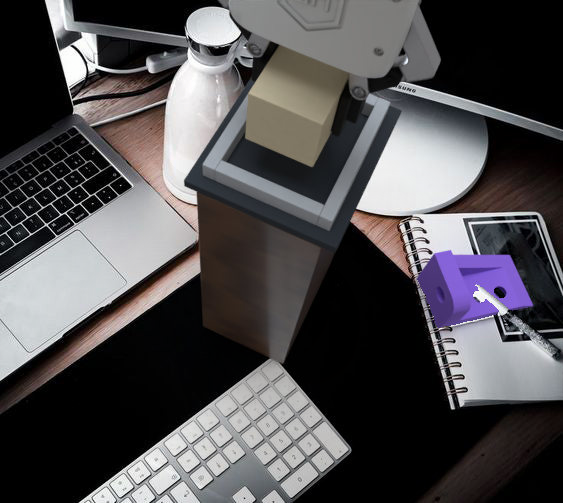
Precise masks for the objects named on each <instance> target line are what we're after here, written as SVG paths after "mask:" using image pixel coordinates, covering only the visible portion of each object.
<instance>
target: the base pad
mask: <svg viewBox="0 0 563 503" xmlns="http://www.w3.org/2000/svg"><path fill="white" fill-rule="evenodd" d="M254 84H255V82H254V81H252V80H251V78H250V79H249V80H248V82H247V83H246V85H245V86H244V87H243V88H242V90H241V92H240V94H239V95H238V97H237V99H236V100H235V102H234V103H233V104H232V106H231V108H230V109H229V111H228V112H227V113H226V115H225V117H224V118H223V120H222V121H221V123H220V125H219V126H218V127H217V129H216V131H215V132H214V133H213V135H212V136H211V138H210V140H209V141H208V142H207V144H206V146H205V147H204V149H203V150H202V151H201V154H200V155H199V156H198V158H197V159H196V161H195V163H194V164H193V166H192V167H191V168H190V170H189V172H188V173H187V175H186V177H185V178H184V179H183V186H184V187H185V188H187V189H189V190H192V191H194V192H196V193H197V192H199V193H201V194H203V195H205V196H208V197H210V198H212V199H214V200H216V201H219V202H221V203H223V204H225V205H228V206H230V207H232V208H234V209H237V210H239V211H241V212H243V213H246V214H248V215H250V216H252V217H255V218H257V219H259V220H261V221H264V222H266V223H268V224H270V225H273V226H275V227H277V228H279V229H282V230H284V231H286V232H288V233H291V234H293V235H295V236H297V237H299V238H302V239H304V240H306V241H308V242H311V243H313V244H315V245H317V246H320V247H322V248H324V249H326V250H329V251H331V252H333V253H334V254H336V253H337V251H338V248H339V247H340V245H341V242H342V240H343V238H344V235H345V234H346V231H347V229H348V227H349V225H350V223H351V221H352V218H353V217H354V214H355V212H356V210H357V208H358V206H359V204H360V202H361V200H362V198H363V196H364V193H365V191H366V189H367V187H368V185H369V183H370V180H371V179H372V176H373V175H374V172H375V170H376V167H377V166H378V163H379V161H380V159H381V157H382V155H383V153H384V151H385V149H386V146H387V144H388V142H389V140H390V138H391V135H392V134H393V131H394V129H395V127H396V126H397V124H398V121H399V119H400V116H401V114H402V109H399V108H398V107H395V106H393V105H391V101H389V100H386V99H384V98H381V97H379V96H376V95H374V94H373V93H369V95H368V97H367V99H366V102H365V105H364V108H363V110H362V113H361V115H360V117H359V119H358V121H357V123H356V124H354V123H352V122H349V121H347V123H346V125H345V127H344V129H343V131H342V133H341V135H340V136H339V137H338V136H335V135H333V134H332V132H331V134H330V136H329V138H328V139H327V141H326V143H325V145H324V147H323V149H322V151H321V153H320V154H319V156H318V158H317V160H316V162H315V164H314V166H313V167H310V166H308V165H306V164H303V163H301V162H299V161H296V160H294V159H292V158H290V157H287V156H285V155H283V154H280V153H278V152H276V151H273V150H271V149H269V148H266V147H264V146H262V145H259V144H257V143H255V142H252V141H250V140H248V139H246V138H245V133H246V119H247V105H248V93H249V91H250V90H251V88H252V87H253V85H254Z"/></svg>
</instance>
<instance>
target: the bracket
mask: <svg viewBox="0 0 563 503" xmlns="http://www.w3.org/2000/svg"><path fill="white" fill-rule="evenodd" d="M417 280H418V282H419V284H420V287H421V289H422V291H423V293H424V294H425V295H426V301H427V303H428V304H429V305H430V310H431V313H432V315H433V316H434V320H435V321H434V322H435V324H436V326H437V327H438V328H441V327H444V326H451V325H456V324H460V323H463V322H467V321H473V320H477V319H481V318H485V317H489V316H492V315H496V314H498V312H499V310H498V309H497V308H496V307H495V306H494V305H493V304H492V303H490V302H489V301H488V300H487V299H485V301H484V302H481V303H480V302H479V301H478V300H476V298H474V297H473V294H474V292H475V291H479V290H478V287H477V286H475V285H476V284H477V285H480V287H483V288H484V289H485V290H486V291H487V292H489V293H490V294H491V295H493V296H494V297H495V298H497V299H498V300H499V301H500V302H501V303H503V304H504V305H505V306H506V307H508V309H509V310H512V311H513V310H518V309H523V308H528V307H531V308H532V307H534V304H533V302H532V300H531V297H530V295H529V292H528V290H527V289H526V287H525V284H524V282H523V281H522V278H521V276H520V274H519V271H518V270H517V267H516V265H515V263H514V260H513V259H512V257H511V255H510V254H454V253H453V251H452V249H448V250H444V251H439V252H434V253H433V254H432V256H431V257H430V258H429V260H428V261H427V263H426V264H425V266H424V267H423V269H422V270H421V271H420V273H419V274H418V276H417V277H416V281H417ZM418 282H417V283H418ZM419 284H418V285H419ZM420 287H419V288H420ZM495 288H499V289H500V290H501V291H502V292H503V293H504V295H505V297H504V298H499V296H498V295H497V294H496V293H494V289H495ZM421 289H420V290H421Z"/></svg>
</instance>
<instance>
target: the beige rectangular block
mask: <svg viewBox="0 0 563 503" xmlns="http://www.w3.org/2000/svg"><path fill="white" fill-rule="evenodd" d="M348 80H349V79H348V72H346V71H343V70H341V69H338V68H336V67H333V66H331V65H328V64H326V63H323V62H320V61H318V60H315V59H313V58H311V57H308V56H306V55H303V54H301V53H298V52H296V51H294V50H291V49H289V48H286V47H284V46H282V45H279V46H278V48H277V49H276V51H275V53H274V54H273V56H272V57H271V59H270V60H269V62H268V63H267V65H266V66H265V68H264V70H263V71H262V73H261V74H260V76H259V77H258V79H257V80H256V82H255V84H254V85H253V87H252V88H251V90H250V91H249V93H248V105H247V119H246V133H245V138H246V139H248V140H250V141H252V142H255V143H257V144H259V145H262V146H264V147H266V148H269V149H271V150H273V151H276V152H278V153H280V154H283V155H285V156H287V157H290V158H292V159H294V160H296V161H299V162H301V163H303V164H306V165H308V166H310V167H313V166H314V164H315V162H316V160H317V158H318V156H319V154H320V153H321V151H322V149H323V147H324V145H325V143H326V141H327V139H328V138H329V136H330V134H331V128H332V125H333V121H334V117H335V113H336V109H337V106H338V102H339V98H340V96H341V93H342V91H343V90H344V88H345V86H346V84H347V82H348Z"/></svg>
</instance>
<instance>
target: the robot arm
mask: <svg viewBox="0 0 563 503" xmlns="http://www.w3.org/2000/svg"><path fill="white" fill-rule="evenodd" d="M217 2H219V3H220V4H221V5H222V7H223V8H224V9H227V10H228V12H229V13H228V15H229V18H230V20H231V21H232V22H233V24H234V25H235V26H236V28H237V29H238V31H239V32H240V33H241V35H242V36H243V37H244V38H245V39H246V41H247V43H246V45H245V49H246V51H247V53H248V54H249V55H250V56H252V64H251V77H250V79H251V80H252V81H254V82H256V80H257V79H258V77H259V76H260V74H261V73H262V71H263V70H264V68H265V66H266V65H267V63H268V62H269V60H270V59H271V57H272V56H273V54H274V53H275V51H276V49H277V48H278V46H279V45H282V46H284V47H286V48H289V49H291V50H294V51H296V52H298V53H301V54H303V55H306V56H308V57H311V58H313V59H315V60H318V61H320V62H323V63H326V64H328V65H331V66H333V67H336V68H338V69H341V70H343V71H346V72H348V79H349V80H348V82H347V84H346V86H345V88H344V90H343V91H342V93H341V96H340V98H339V102H338V106H337V109H336V113H335V117H334V121H333V125H332V128H331V132H332V134H333V135H335V136H338V137H339V136H340V135H341V133H342V131H343V129H344V127H345V125H346V123H347V121H349V122H352V123H354V124H356V123H357V121H358V119H359V117H360V115H361V113H362V110H363V108H364V105H365V102H366V99H367V97H368V95H369V94H373V93H376V92H380V91H384V90H387V89H392V88H395V87H398V86H399V85H400V83H405V82H406V84H409V83H414V82H420V81H426V80H427V81H428V80H431V79H433V78H434V77H435V75H436V72H437V71H438V68H439V66H440V64H441V61H442V59H441V56H440V52H439V51H438V49H437V46H436V44H435V41H434V39H433V36H432V34H431V32H430V29H429V27H428V24H427V21H426V20H425V17H424V15H423V13H422V10H421V7H420V6H421V3H422V0H217ZM402 49H403V51H404V53H405V54H402V53H401V51H402Z"/></svg>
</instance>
